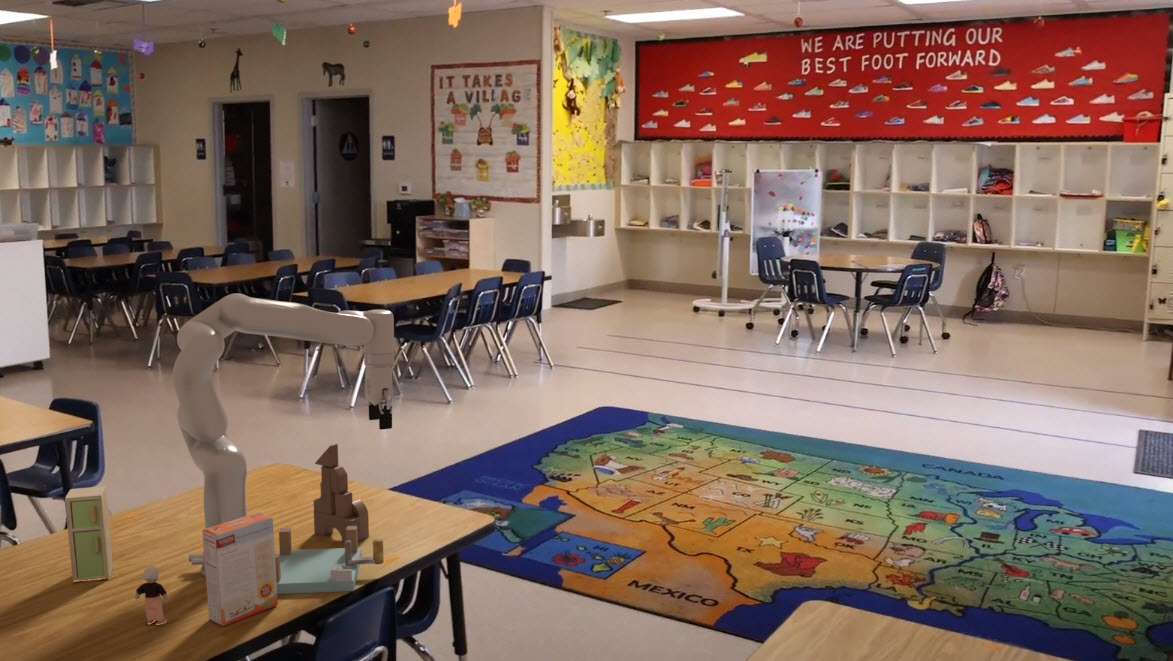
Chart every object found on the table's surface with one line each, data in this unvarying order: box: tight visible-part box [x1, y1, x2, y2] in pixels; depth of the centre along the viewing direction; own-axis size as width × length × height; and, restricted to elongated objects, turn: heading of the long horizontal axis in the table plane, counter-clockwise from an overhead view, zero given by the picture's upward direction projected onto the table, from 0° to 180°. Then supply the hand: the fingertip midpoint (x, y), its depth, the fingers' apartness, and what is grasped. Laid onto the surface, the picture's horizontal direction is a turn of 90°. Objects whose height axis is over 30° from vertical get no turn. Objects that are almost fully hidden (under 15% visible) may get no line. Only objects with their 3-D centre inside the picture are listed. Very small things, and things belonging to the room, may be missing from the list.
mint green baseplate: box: [275, 526, 363, 595], centre depth 252 cm, size 20×20×8 cm
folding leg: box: [343, 538, 384, 565], centre depth 252 cm, size 9×2×6 cm, turn 97°
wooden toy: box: [313, 443, 370, 543], centre depth 276 cm, size 16×7×25 cm, turn 58°
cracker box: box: [202, 511, 279, 627], centre depth 231 cm, size 14×6×21 cm, turn 140°
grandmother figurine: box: [134, 565, 170, 624], centre depth 226 cm, size 8×4×13 cm, turn 92°
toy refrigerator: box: [64, 486, 114, 582], centre depth 248 cm, size 8×7×21 cm
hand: (380, 424), depth 271 cm, fingers open, 9 cm apart
